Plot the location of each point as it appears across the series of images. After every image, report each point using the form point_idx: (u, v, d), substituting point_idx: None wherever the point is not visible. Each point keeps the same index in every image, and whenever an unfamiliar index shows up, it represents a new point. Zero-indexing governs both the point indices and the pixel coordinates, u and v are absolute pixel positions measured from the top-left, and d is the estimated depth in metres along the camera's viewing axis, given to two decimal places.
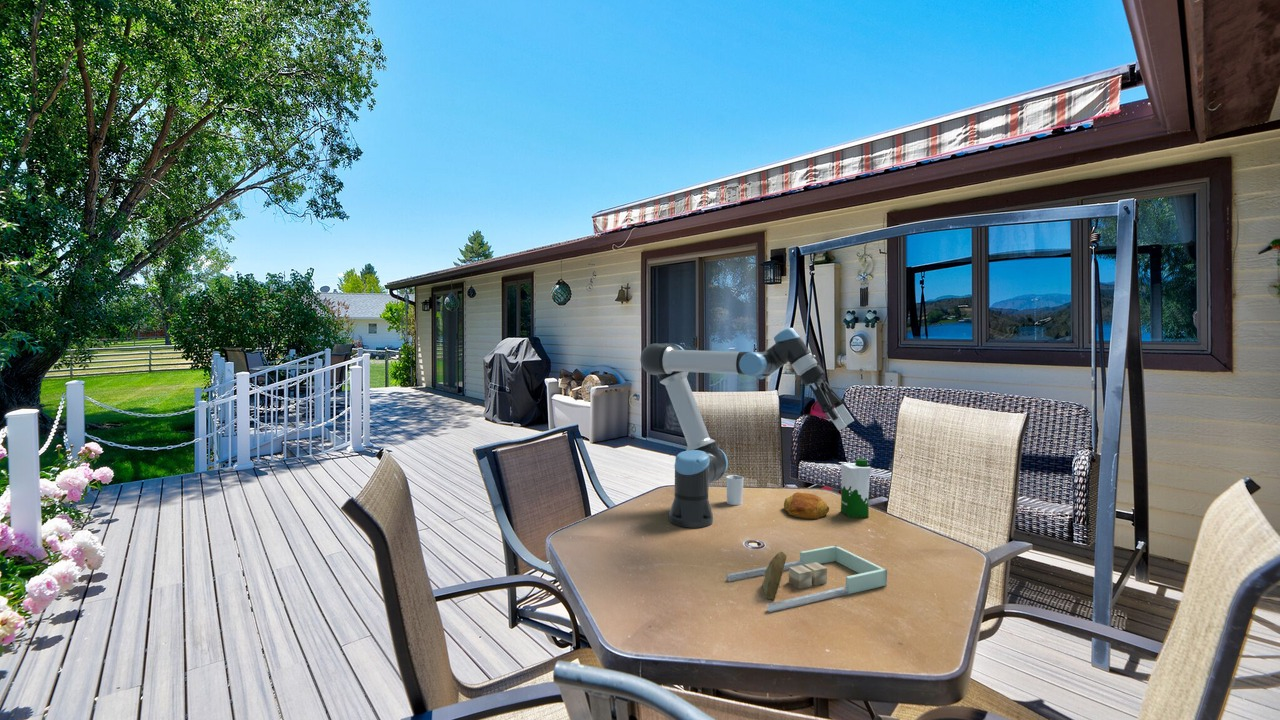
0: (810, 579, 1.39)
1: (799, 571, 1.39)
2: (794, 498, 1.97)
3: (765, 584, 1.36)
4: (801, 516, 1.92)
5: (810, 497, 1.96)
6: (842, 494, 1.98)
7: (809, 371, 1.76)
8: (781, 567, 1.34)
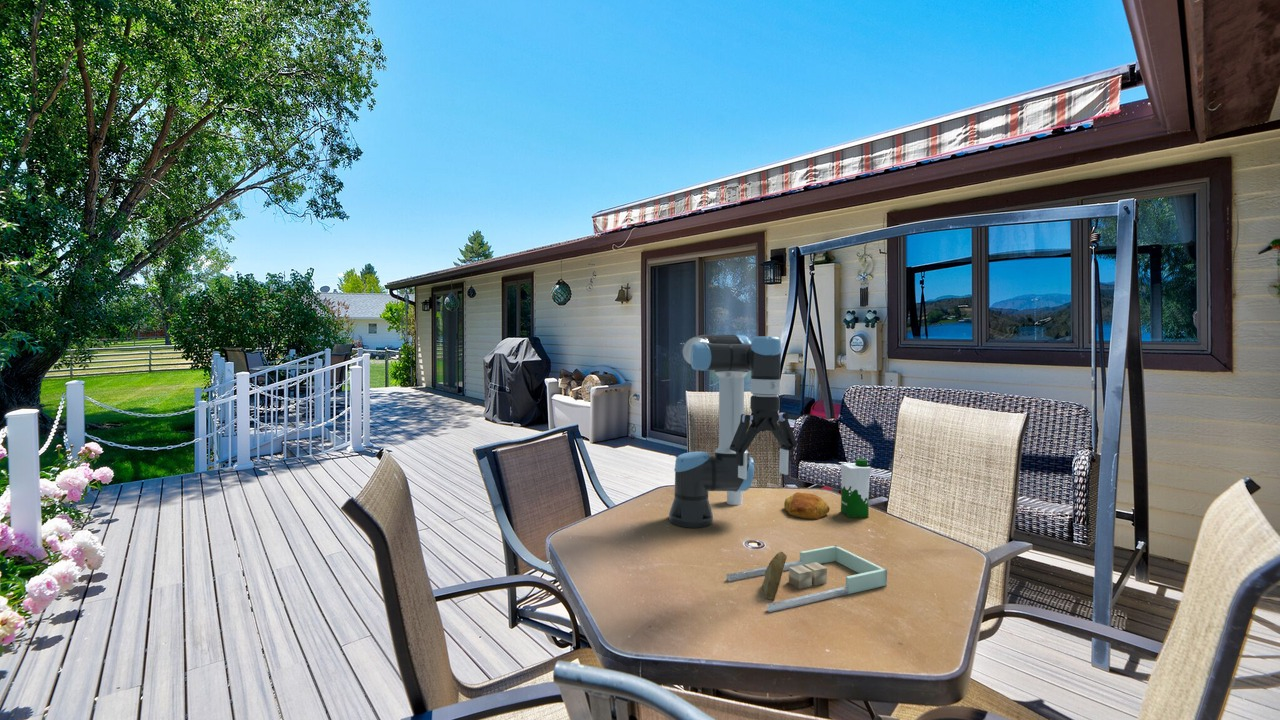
0: (810, 579, 1.39)
1: (799, 571, 1.39)
2: (794, 498, 1.97)
3: (765, 584, 1.36)
4: (801, 516, 1.92)
5: (810, 497, 1.96)
6: (842, 494, 1.98)
7: (755, 399, 1.40)
8: (781, 566, 1.34)
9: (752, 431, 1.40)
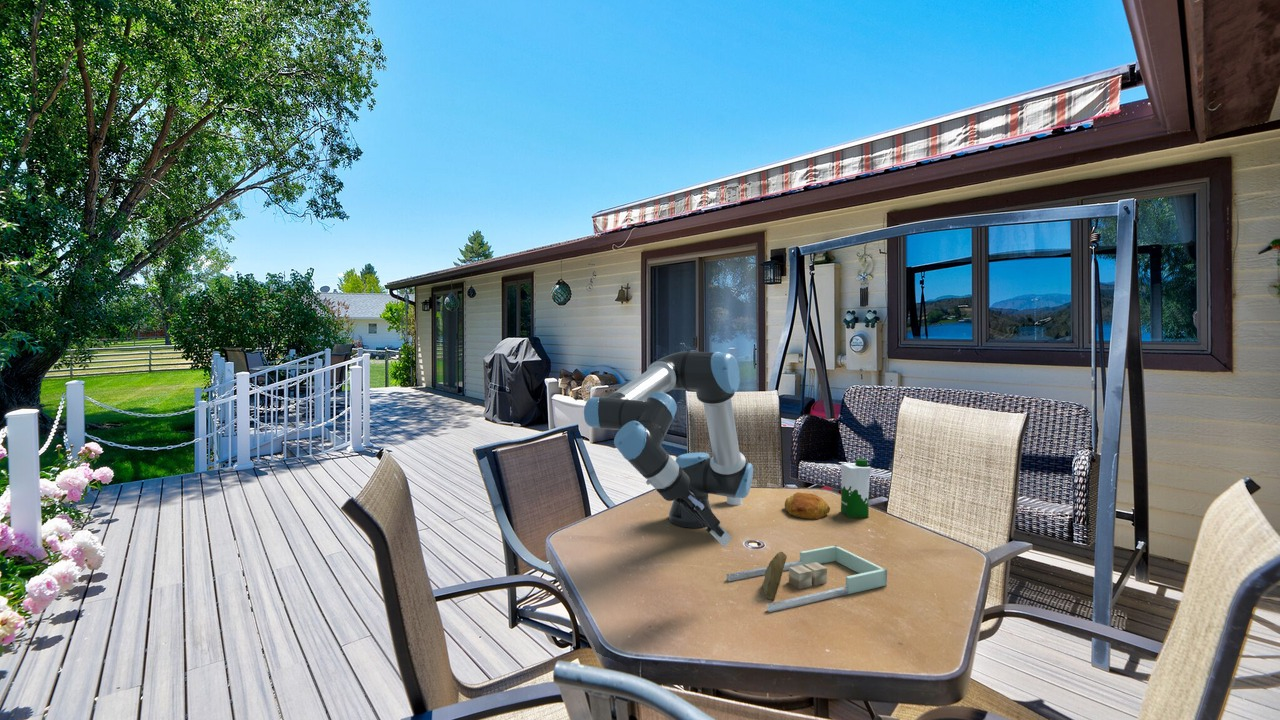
0: (810, 579, 1.39)
1: (799, 571, 1.39)
2: (795, 498, 1.97)
3: (765, 584, 1.36)
4: (802, 516, 1.92)
5: (811, 497, 1.96)
6: (842, 494, 1.98)
7: None
8: (781, 567, 1.34)
9: None
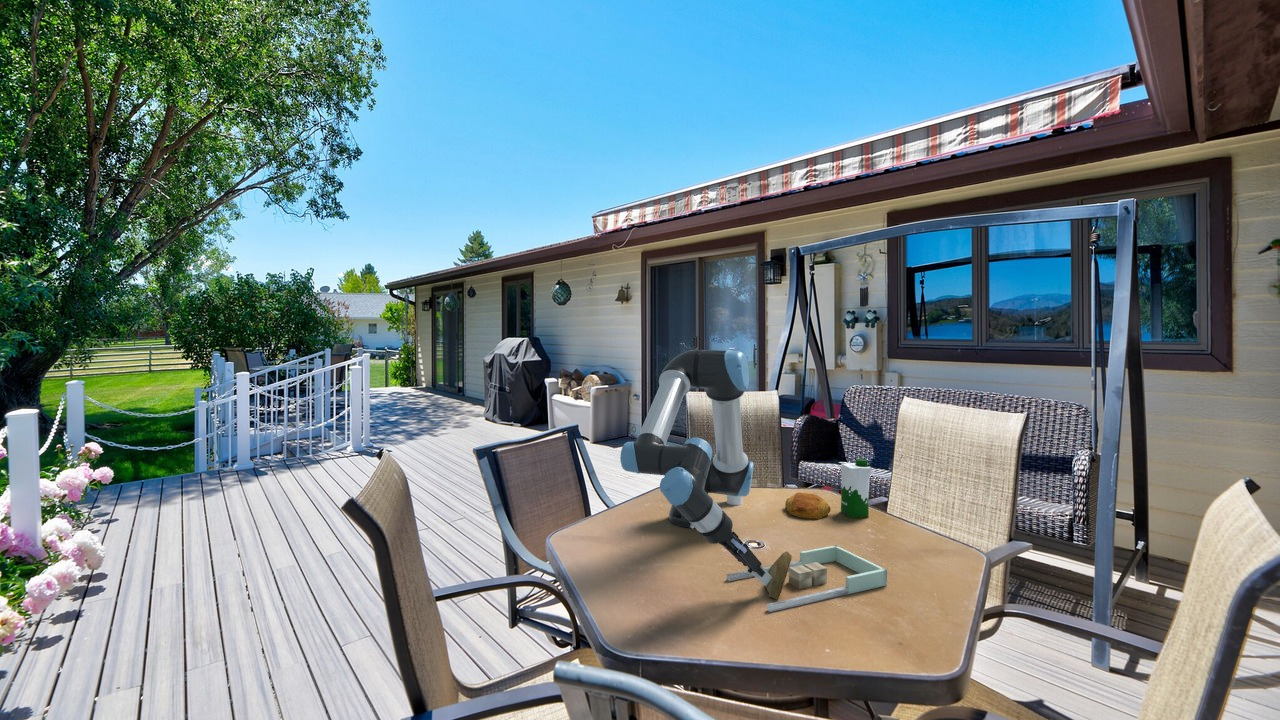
0: (810, 579, 1.39)
1: (799, 571, 1.39)
2: (795, 498, 1.97)
3: (768, 583, 1.36)
4: (802, 516, 1.92)
5: (811, 497, 1.96)
6: (842, 494, 1.98)
7: None
8: (786, 566, 1.35)
9: None
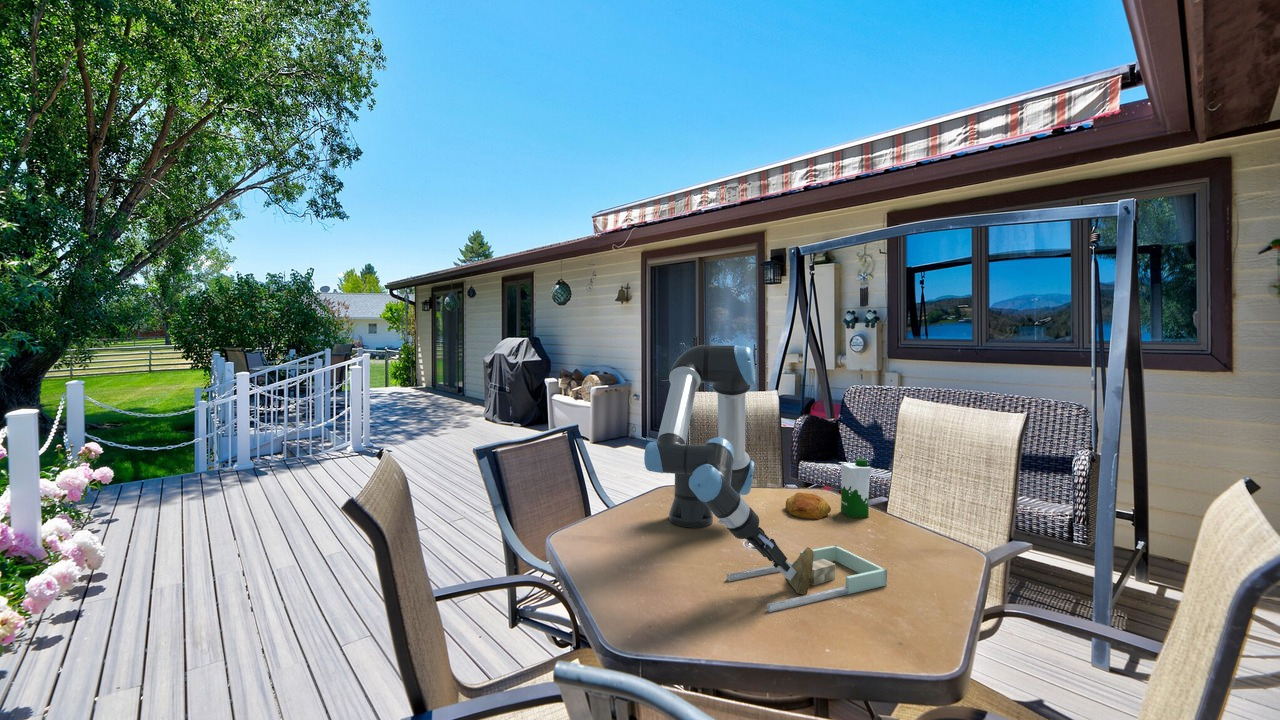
0: (823, 575, 1.41)
1: (813, 568, 1.41)
2: (796, 498, 1.97)
3: (793, 579, 1.39)
4: (802, 516, 1.92)
5: (812, 497, 1.96)
6: (842, 494, 1.98)
7: None
8: (811, 562, 1.37)
9: None
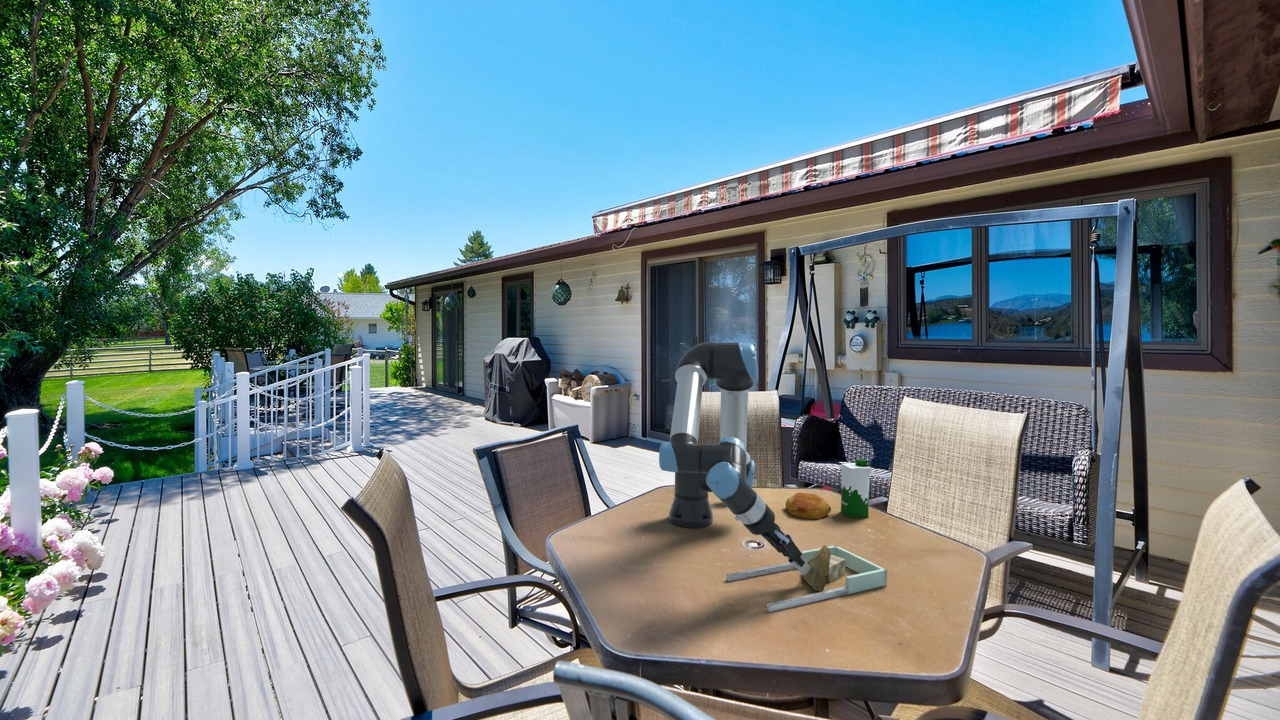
0: (836, 571, 1.44)
1: None
2: (796, 498, 1.97)
3: (809, 576, 1.40)
4: (803, 516, 1.92)
5: (812, 497, 1.96)
6: (842, 494, 1.98)
7: None
8: (828, 560, 1.39)
9: None
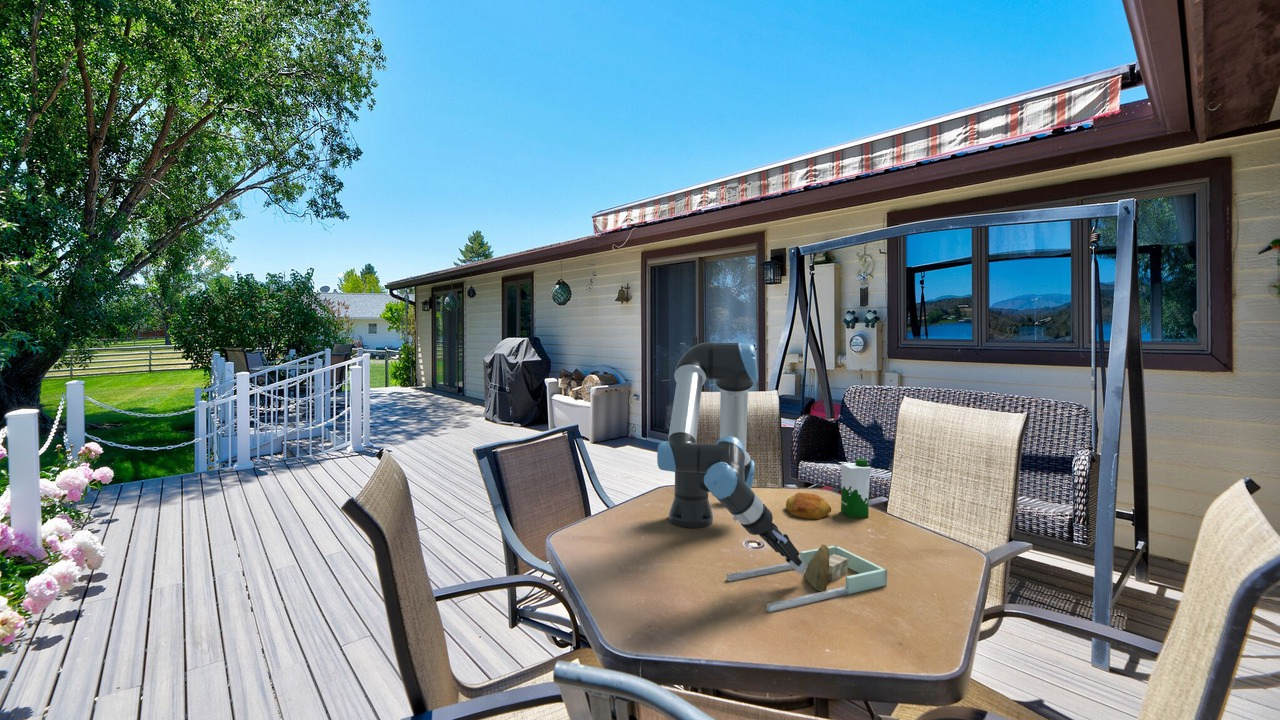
0: (839, 570, 1.45)
1: (830, 564, 1.43)
2: (796, 498, 1.97)
3: (811, 577, 1.41)
4: (803, 516, 1.92)
5: (812, 497, 1.96)
6: (842, 494, 1.98)
7: None
8: (827, 559, 1.40)
9: None
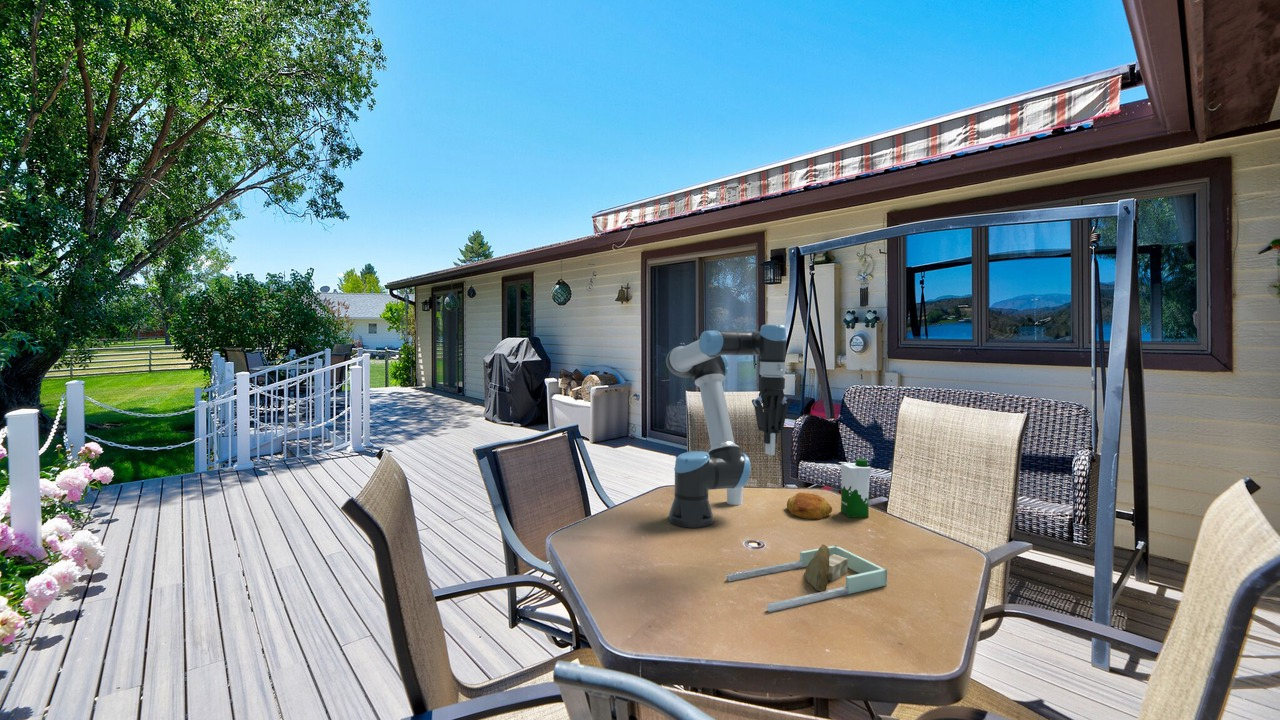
0: (839, 570, 1.45)
1: (830, 564, 1.44)
2: (797, 498, 1.97)
3: (811, 577, 1.41)
4: (804, 516, 1.92)
5: (813, 497, 1.96)
6: (842, 494, 1.98)
7: (763, 379, 1.61)
8: (827, 559, 1.40)
9: (767, 411, 1.62)
